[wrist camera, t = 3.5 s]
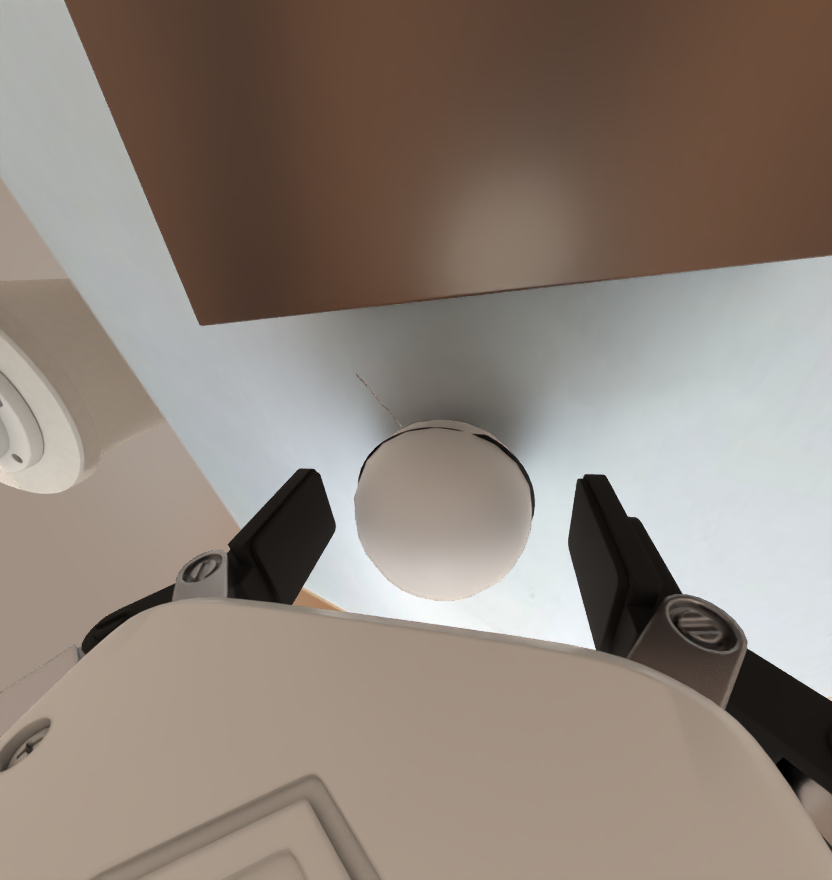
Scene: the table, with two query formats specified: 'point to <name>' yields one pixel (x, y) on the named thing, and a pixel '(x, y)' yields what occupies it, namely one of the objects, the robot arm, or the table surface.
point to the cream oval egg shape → (443, 509)
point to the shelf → (465, 142)
